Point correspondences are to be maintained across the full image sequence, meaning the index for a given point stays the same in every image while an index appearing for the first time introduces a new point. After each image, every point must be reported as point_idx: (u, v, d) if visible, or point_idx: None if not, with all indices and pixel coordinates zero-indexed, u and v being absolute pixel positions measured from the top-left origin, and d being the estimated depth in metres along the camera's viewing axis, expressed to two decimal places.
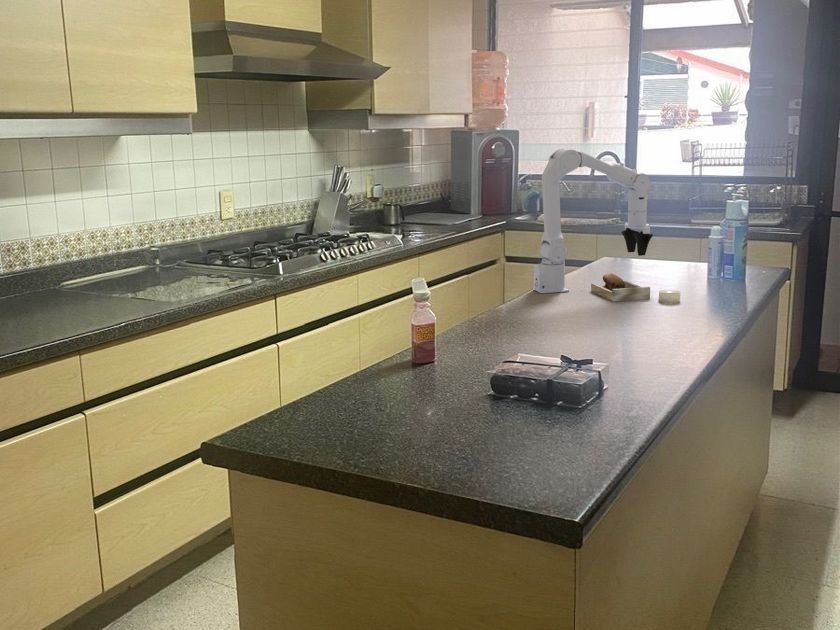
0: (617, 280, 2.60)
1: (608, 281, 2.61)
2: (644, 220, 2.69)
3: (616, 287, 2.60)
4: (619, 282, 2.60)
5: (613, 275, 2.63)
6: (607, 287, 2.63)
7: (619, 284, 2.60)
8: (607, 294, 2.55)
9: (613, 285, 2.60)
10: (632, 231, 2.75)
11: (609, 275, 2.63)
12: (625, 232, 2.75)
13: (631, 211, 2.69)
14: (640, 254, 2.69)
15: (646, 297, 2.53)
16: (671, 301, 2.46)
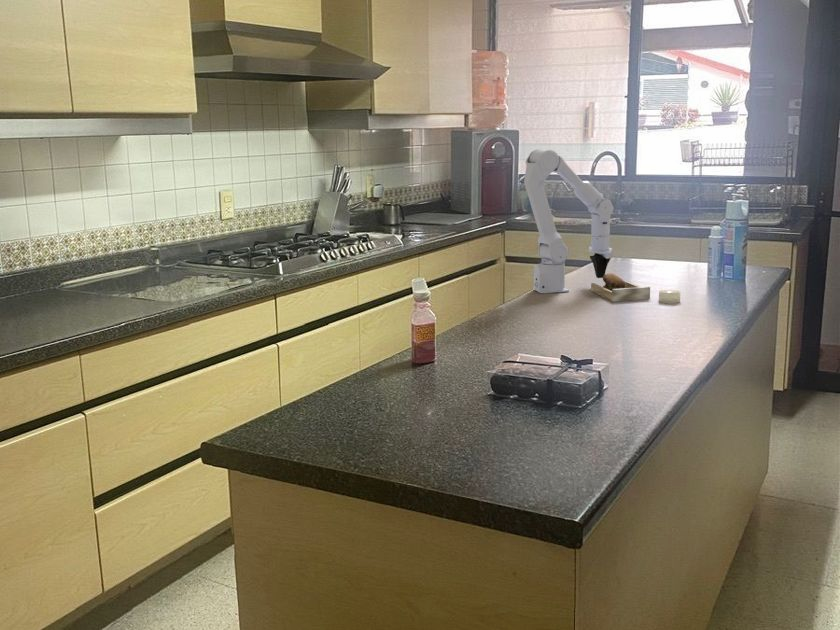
0: (617, 280, 2.60)
1: (608, 281, 2.61)
2: (607, 244, 2.70)
3: (616, 287, 2.60)
4: (618, 282, 2.60)
5: (613, 275, 2.63)
6: (607, 287, 2.63)
7: (619, 284, 2.60)
8: (607, 294, 2.55)
9: (613, 285, 2.60)
10: None
11: (609, 275, 2.63)
12: None
13: (594, 236, 2.70)
14: (599, 276, 2.74)
15: (646, 297, 2.53)
16: (671, 301, 2.46)
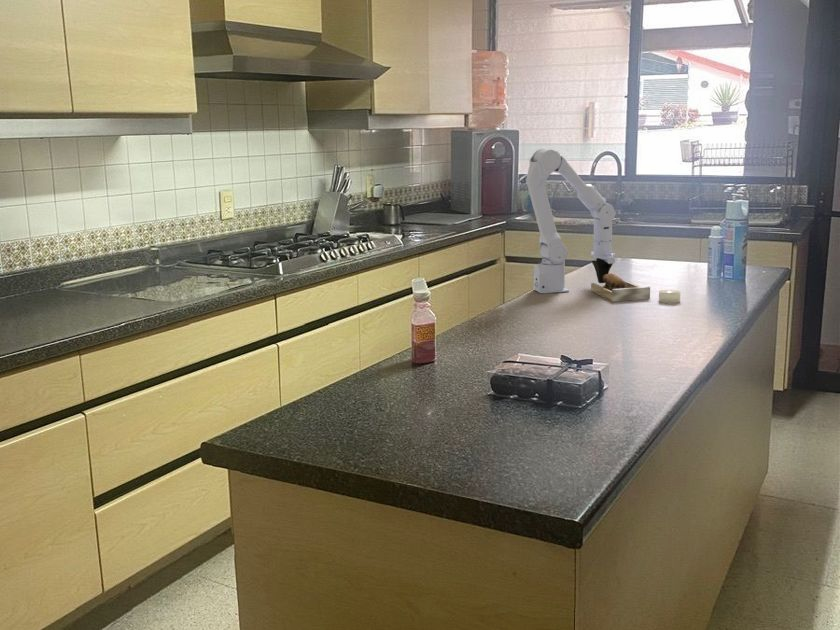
0: (617, 280, 2.60)
1: (608, 281, 2.61)
2: (609, 249, 2.69)
3: (616, 287, 2.60)
4: (618, 282, 2.60)
5: (613, 275, 2.63)
6: (607, 287, 2.63)
7: (619, 284, 2.60)
8: (607, 294, 2.55)
9: (613, 285, 2.60)
10: None
11: (609, 275, 2.63)
12: None
13: (596, 241, 2.68)
14: (601, 282, 2.72)
15: (646, 297, 2.53)
16: (671, 301, 2.46)
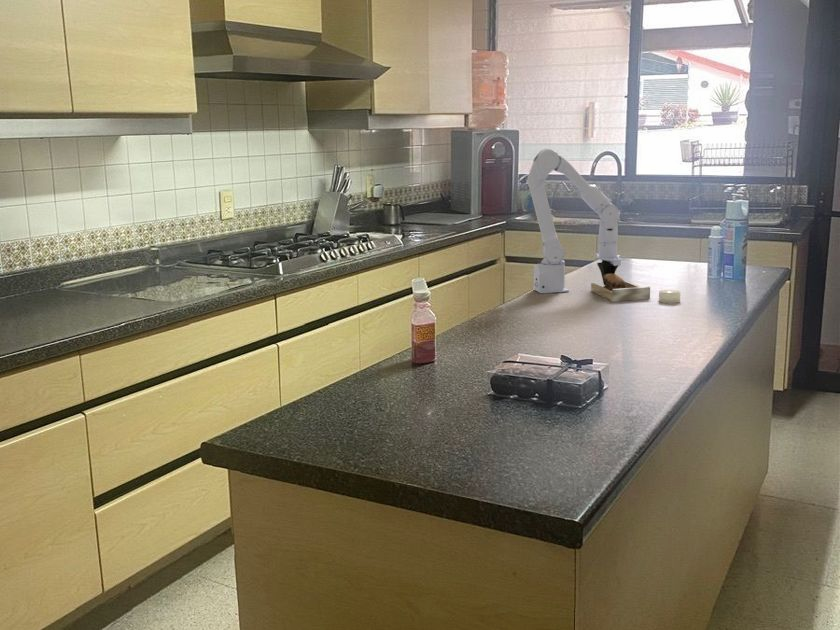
0: (618, 280, 2.60)
1: (609, 281, 2.60)
2: (615, 251, 2.64)
3: (617, 287, 2.60)
4: (619, 282, 2.60)
5: (614, 275, 2.62)
6: (608, 287, 2.63)
7: (619, 284, 2.60)
8: (607, 294, 2.55)
9: (614, 285, 2.60)
10: None
11: (610, 275, 2.62)
12: None
13: (602, 242, 2.64)
14: None
15: (646, 297, 2.53)
16: (671, 301, 2.46)
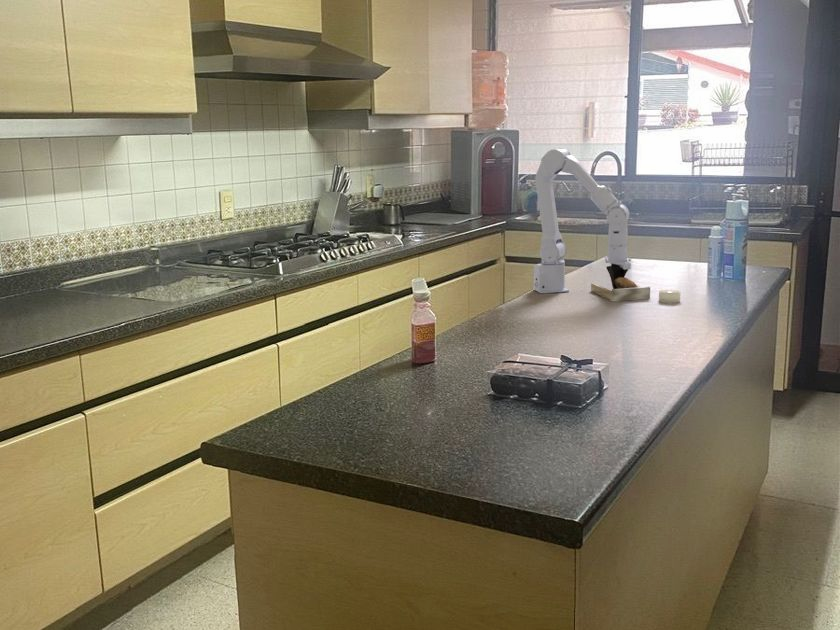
0: (631, 284, 2.53)
1: (622, 285, 2.53)
2: (625, 255, 2.57)
3: None
4: (633, 286, 2.53)
5: (626, 279, 2.55)
6: None
7: None
8: (607, 294, 2.55)
9: None
10: None
11: (622, 279, 2.55)
12: None
13: (611, 245, 2.57)
14: (616, 288, 2.61)
15: (646, 297, 2.53)
16: (671, 301, 2.46)
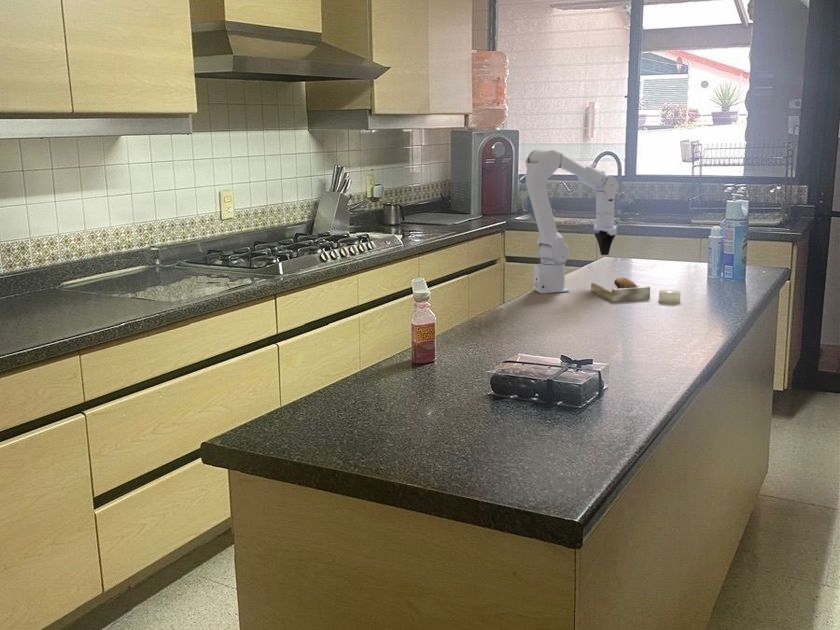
0: (631, 284, 2.53)
1: (622, 286, 2.53)
2: (611, 222, 2.73)
3: None
4: (633, 286, 2.53)
5: (626, 279, 2.55)
6: None
7: None
8: (607, 294, 2.55)
9: None
10: None
11: (622, 279, 2.55)
12: None
13: (599, 213, 2.72)
14: (603, 254, 2.76)
15: (646, 297, 2.53)
16: (671, 301, 2.46)
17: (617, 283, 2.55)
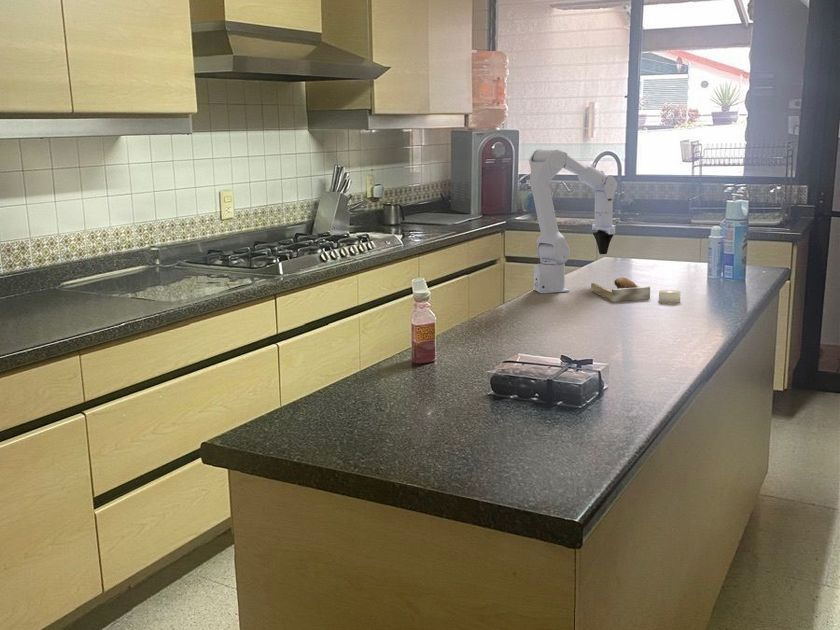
0: (631, 284, 2.53)
1: (622, 286, 2.53)
2: (610, 221, 2.75)
3: None
4: (632, 286, 2.53)
5: (626, 279, 2.55)
6: None
7: None
8: (607, 294, 2.55)
9: None
10: None
11: (622, 279, 2.55)
12: None
13: (597, 212, 2.75)
14: (602, 253, 2.79)
15: (646, 297, 2.53)
16: (670, 301, 2.46)
17: (617, 283, 2.55)
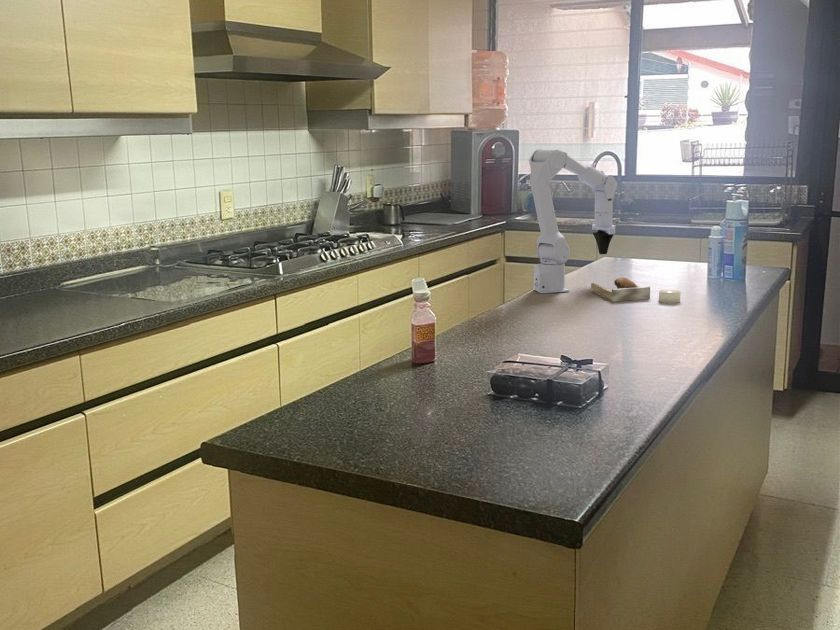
0: (631, 284, 2.53)
1: (622, 286, 2.53)
2: (610, 221, 2.75)
3: None
4: (633, 286, 2.53)
5: (626, 279, 2.55)
6: None
7: None
8: (607, 294, 2.55)
9: None
10: None
11: (622, 279, 2.55)
12: None
13: (597, 212, 2.75)
14: (602, 253, 2.79)
15: (646, 297, 2.53)
16: (670, 301, 2.46)
17: (617, 283, 2.55)
